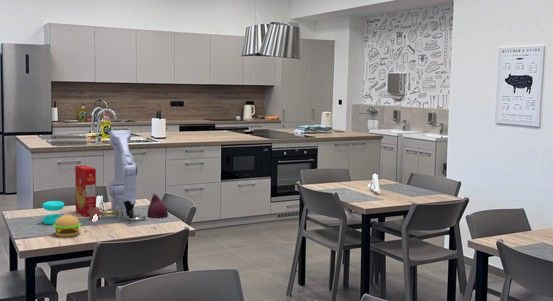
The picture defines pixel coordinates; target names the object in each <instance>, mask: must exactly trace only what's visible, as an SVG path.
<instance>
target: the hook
mask: <svg viewBox="0 0 553 301" xmlns="http://www.w3.org/2000/svg"><path fill="white" fill-rule="evenodd" d="M95 214H97V216H98V220H99V219H100V217H101V216H112V215H116V214H118V210H117V211H112V210H105V211H103V210H102V211H100V207H99V206H96V207H90V217H89V218H90V219H91V220H92V219H93V216H94V215H95ZM123 215H124V213H123V212H122V216H123Z"/></svg>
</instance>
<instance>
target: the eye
mask: <svg viewBox="0 0 553 301" xmlns="http://www.w3.org/2000/svg"><path fill="white" fill-rule="evenodd" d="M117 210H118V214H114V216H115V217H116V218H117V219H119V218H123V216H122V207H121V206H119V205H117V206H116V211H117Z"/></svg>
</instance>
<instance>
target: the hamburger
mask: <svg viewBox="0 0 553 301" xmlns="http://www.w3.org/2000/svg"><path fill="white" fill-rule="evenodd" d="M80 225H81V223H79V220H78V217H76V216H74V215H71V214H65V215H62V217H59V218H58V219H57V220H56V222H55V224H53V225H52V227H54V229H55V233H54V234H55V236H57V237H61V238H71V237H76V236H78V234H80V227H81V226H80Z"/></svg>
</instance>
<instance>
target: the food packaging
mask: <svg viewBox="0 0 553 301" xmlns="http://www.w3.org/2000/svg"><path fill="white" fill-rule="evenodd" d="M74 167H75V168H74V169H75V173H74V174H75V184H74V185H75V212H76V213H77V214H79V215H80V216H83V218H90V207H97V169H96V168H94V167H91V166H88V165H75V166H74Z"/></svg>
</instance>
